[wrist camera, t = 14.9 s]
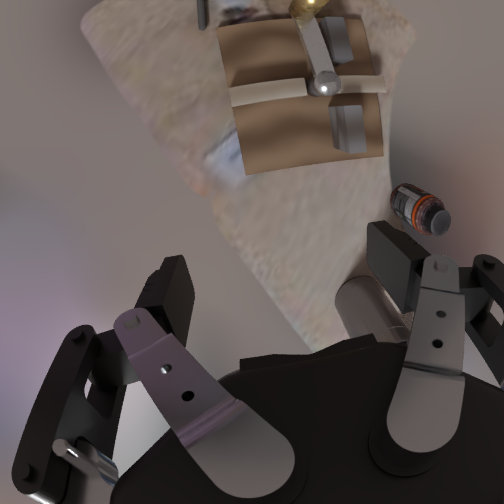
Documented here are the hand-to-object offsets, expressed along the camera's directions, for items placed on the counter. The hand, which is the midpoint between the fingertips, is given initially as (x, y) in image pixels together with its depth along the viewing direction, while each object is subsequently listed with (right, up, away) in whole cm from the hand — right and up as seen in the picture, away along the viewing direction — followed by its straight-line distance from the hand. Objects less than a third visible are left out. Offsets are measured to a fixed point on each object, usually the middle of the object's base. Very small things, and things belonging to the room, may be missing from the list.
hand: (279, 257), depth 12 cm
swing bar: (+6, +24, +14) cm, 29 cm away
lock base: (+7, +23, +22) cm, 33 cm away
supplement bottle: (+24, +9, +31) cm, 40 cm away
